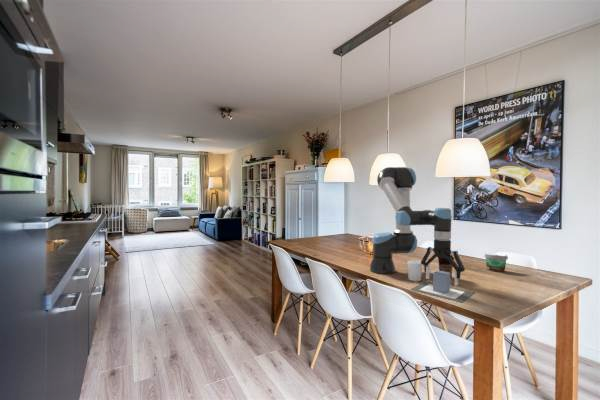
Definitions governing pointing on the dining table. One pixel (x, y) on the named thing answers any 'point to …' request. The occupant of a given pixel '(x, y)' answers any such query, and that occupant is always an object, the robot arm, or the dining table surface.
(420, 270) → the white cup
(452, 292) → the letter
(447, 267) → the coffee cup
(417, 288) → the desk mat
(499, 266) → the food container
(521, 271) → the dining table surface
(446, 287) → the block
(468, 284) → the dining table surface
